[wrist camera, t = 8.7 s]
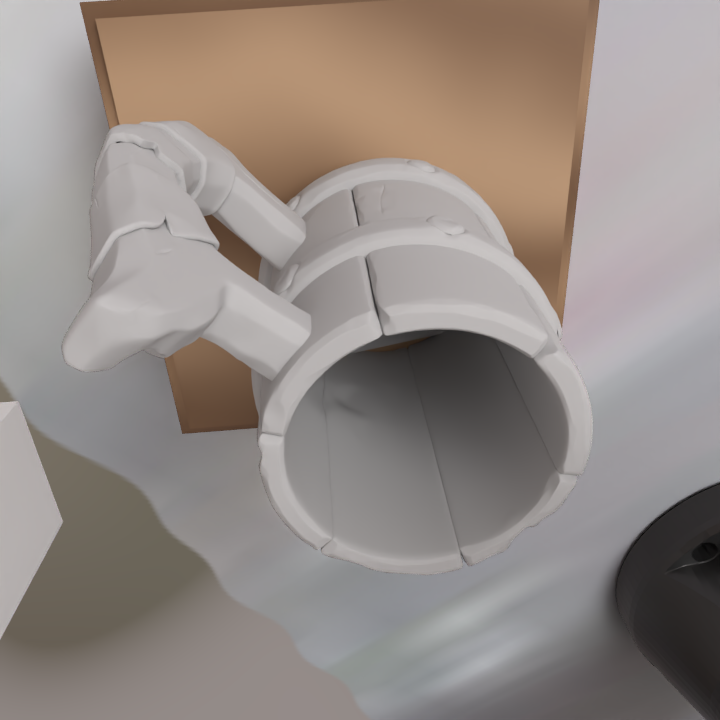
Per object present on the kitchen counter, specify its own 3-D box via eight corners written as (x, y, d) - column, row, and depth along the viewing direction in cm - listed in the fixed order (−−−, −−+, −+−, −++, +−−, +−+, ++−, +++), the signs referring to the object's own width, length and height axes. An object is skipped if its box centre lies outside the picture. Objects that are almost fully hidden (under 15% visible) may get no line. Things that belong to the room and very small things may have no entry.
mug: (397, 408, 23) (462, 740, 12) (99, 216, 19) (-177, 466, 8) (547, 249, 20) (792, 501, 10) (237, -15, 16) (86, -70, 6)
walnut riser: (510, 334, 29) (555, 409, 23) (207, 356, 28) (180, 438, 23) (535, -20, 22) (607, -31, 16) (137, 5, 22) (75, 2, 16)
